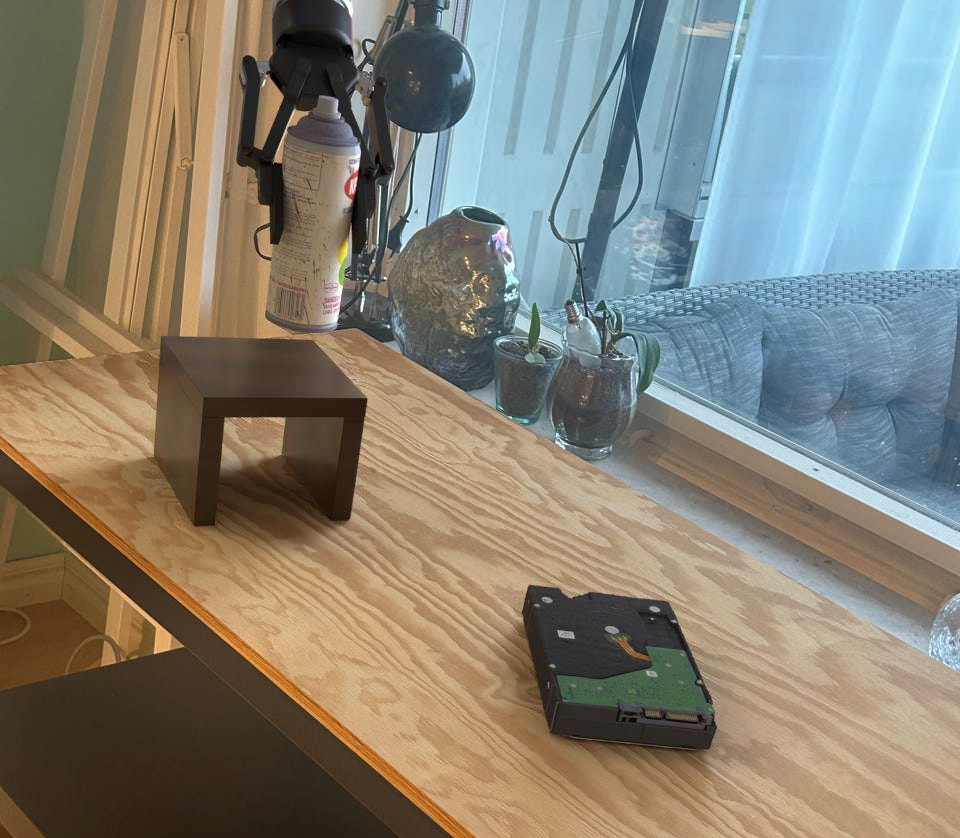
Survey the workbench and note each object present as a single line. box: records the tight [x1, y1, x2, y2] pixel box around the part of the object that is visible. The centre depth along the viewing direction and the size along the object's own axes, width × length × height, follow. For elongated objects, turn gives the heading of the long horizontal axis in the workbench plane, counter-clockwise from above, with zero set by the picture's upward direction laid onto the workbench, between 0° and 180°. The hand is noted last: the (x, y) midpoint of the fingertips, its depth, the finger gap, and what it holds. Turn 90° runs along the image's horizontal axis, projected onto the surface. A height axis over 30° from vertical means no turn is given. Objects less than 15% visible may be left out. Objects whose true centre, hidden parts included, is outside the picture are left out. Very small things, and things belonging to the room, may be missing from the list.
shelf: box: [153, 335, 369, 527], centre depth 99 cm, size 12×12×10 cm
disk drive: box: [521, 584, 718, 751], centre depth 86 cm, size 10×3×15 cm
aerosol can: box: [264, 96, 361, 334], centre depth 121 cm, size 7×7×20 cm
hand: (318, 241), depth 119 cm, fingers closed on aerosol can, 7 cm apart
